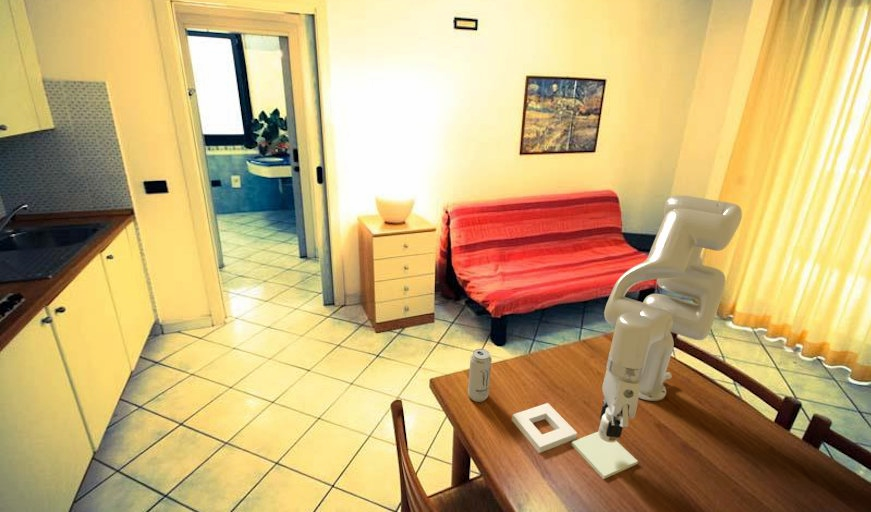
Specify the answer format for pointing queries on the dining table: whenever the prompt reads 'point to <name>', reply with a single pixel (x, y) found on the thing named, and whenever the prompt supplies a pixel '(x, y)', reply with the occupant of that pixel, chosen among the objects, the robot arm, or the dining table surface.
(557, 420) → the collar
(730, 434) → the dining table surface
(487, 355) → the energy drink can
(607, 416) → the pill bottle
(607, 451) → the pad
